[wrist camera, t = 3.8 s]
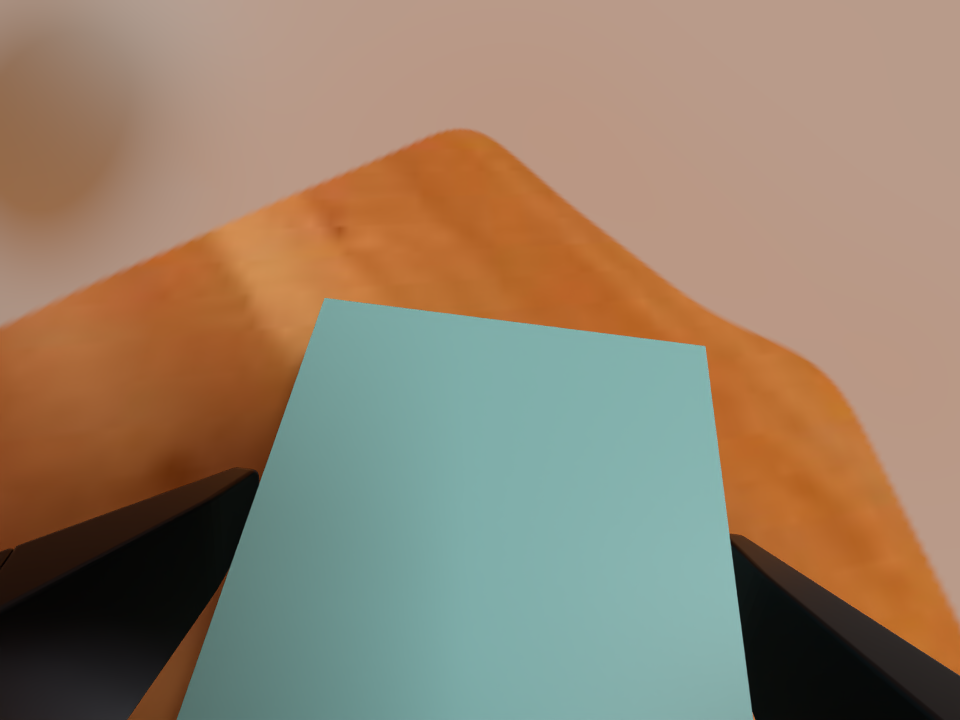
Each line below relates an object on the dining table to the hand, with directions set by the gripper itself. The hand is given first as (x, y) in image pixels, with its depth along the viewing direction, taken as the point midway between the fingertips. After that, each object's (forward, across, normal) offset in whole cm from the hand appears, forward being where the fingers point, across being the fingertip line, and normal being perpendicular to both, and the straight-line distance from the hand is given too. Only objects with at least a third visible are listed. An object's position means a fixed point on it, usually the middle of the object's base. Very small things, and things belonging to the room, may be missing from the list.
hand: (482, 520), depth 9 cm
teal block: (+4, 0, +5) cm, 6 cm away
